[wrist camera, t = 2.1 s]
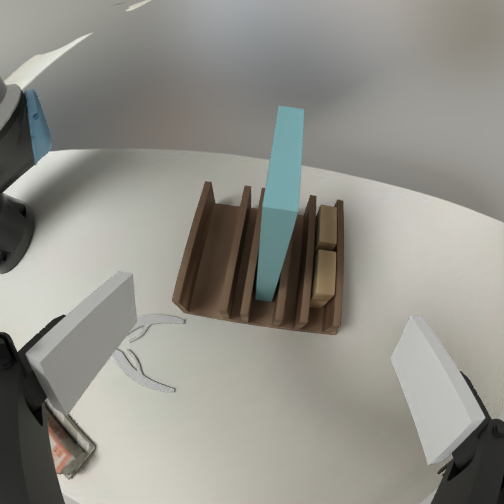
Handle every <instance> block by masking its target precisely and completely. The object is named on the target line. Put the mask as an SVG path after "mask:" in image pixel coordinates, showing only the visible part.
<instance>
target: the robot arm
mask: <svg viewBox="0 0 504 504" xmlns="http://www.w3.org/2000/svg"><path fill="white" fill-rule="evenodd" d="M51 147H52V138H51V134H50V131H49V128H48V124H47V121H46V118H45V115H44V113H43V110H42V107H41V104H40V102H39V99H38V96H37V94H36V92H35V91H34V89H29V90H26V91H25V93H23V92H22V90H21V89H20V87H19V86H18V85H16V84H11V85H5V83H4V82H3V80H2V79H1V77H0V273H6V272H8V271H10V270H11V269H12V268H13V267H14V266H15V265H16V264H17V263H18V262H19V261H20V259H21V258H22V256H23V255H24V253H25V251H26V249H27V247H28V245H29V243H30V240H31V237H32V233H33V229H34V214H33V212H32V210H31V209H30V208H29V207H28V206H27V205H26V204H25V203H24V202H23V201H20V200H18V199H15V198H13V197H11V196H8V195H6V194H4V193H3V192H4V191H5V190H6V189H7V188H8V187H9V186H10V185H11V184H12V183H14V182H15V181H16V180H17V179H18V178H19V177H21V176H22V175H23V174H24V173H25V172H26V171H28V170H29V169H30V168H31V167H33V166H34V165H36V164H37V162H38V161H39V160H40V159H41V158H42V157H44V156H45V155H46V154H47V153H48V152H49V151H50V149H51ZM136 323H137V315H136V306H135V295H134V284H133V274H131V273H126V272H121V271H119V272H118V273H116V274H115V275H114V276H113V277H111V278H110V279H109V280H108V281H106V282H105V283H104V284H103V285H102V286H100V287H99V288H98V289H97V290H96V291H94V292H93V293H92V294H91V295H90V296H88V297H87V298H86V299H85V300H84V301H82V302H81V303H80V304H79V305H78V306H77V307H76V308H74V309H73V310H72V311H71V312H70V313H69V314H68V315H62V316H60V317H57V318H55V319H53V320H52V321H51V322H50V323H49V324H48V325H46V327H45V328H43V329H42V330H41V331H40V332H39V333H37V334H36V335H35V336H34V337H33V338H32V339H31V340H30V341H29V342H28V343H27V344H26V345H24V346H23V347H22V348H21V349H20V350H19V351H18V352H17V350H16V348H15V346H14V343H13V341H12V338H11V337H10V335H9V334H7V333H5V332H0V504H65V502H64V499H63V496H62V492H61V489H60V485H59V482H58V478H57V474H56V469H55V465H54V460H53V455H52V450H51V444H50V438H49V432H48V424H47V415H46V407H45V404H44V403H43V402H44V401H45V400H46V398H48V400H49V402H50V403H51V405H52V407H53V408H55V409H57V410H58V411H60V412H62V413H63V414H65V415H68V414H69V413H70V411H71V410H72V408H73V407H74V406H75V404H76V403H77V401H78V400H79V399H80V397H81V396H82V394H83V393H84V392H85V390H86V389H87V387H88V386H89V385H90V383H91V382H92V381H93V379H94V378H95V377H96V375H97V374H98V373H99V371H100V370H101V369H102V367H103V366H104V365H105V363H106V362H107V361H108V359H109V358H110V357H111V355H112V354H113V353H114V351H115V350H116V349H117V348H118V346H119V345H120V344H121V342H122V341H123V340H124V339H125V337H126V336H127V335H128V333H129V332H130V331H131V330H132V328H133V327H134V326H135V325H136ZM390 360H391V362H392V365H393V367H394V370H395V372H396V375H397V377H398V380H399V382H400V385H401V387H402V390H403V392H404V395H405V398H406V400H407V403H408V406H409V409H410V411H411V414H412V417H413V420H414V423H415V426H416V429H417V432H418V435H419V438H420V441H421V444H422V447H423V450H424V454H425V457H426V461H427V464H428V465H431V464H435V463H438V462H442V461H443V460H444V459H446V458H447V457H448V456H449V455H450V454H451V453H452V455H453V459H452V460H451V461H449V462H448V463H447V464H446V465H445V466H444V467H442V468H441V469H440V470H439V471H438V473H437V474H440V473H441V472H443V471H444V470H445V469H446V471H445V473H444V474H443V475H442V476H443V478H442V481H441V483H440V485H439V487H438V490H437V492H436V494H435V496H434V498H433V500H432V502H431V504H504V422H503V421H502V420H499V419H491V417H490V416H489V414H488V412H487V410H486V408H485V406H484V404H483V402H482V401H481V399H480V397H479V395H478V396H477V392H476V390H475V389H473V385H472V383H471V382H470V380H469V378H468V377H467V376H465V375H464V374H463V373H462V372H461V371H459V370H458V368H457V366H456V365H455V363H454V361H453V360H452V358H451V357H450V355H449V354H448V352H447V351H446V349H445V347H444V346H443V344H442V343H441V341H440V340H439V338H438V337H437V336H436V334H435V333H434V331H433V330H432V328H431V327H430V325H429V324H428V323H427V321H426V320H425V318H424V317H423V316H418V315H410V317H409V320H408V322H407V324H406V327H405V329H404V331H403V333H402V335H401V338H400V340H399V342H398V344H397V346H396V348H395V350H394V352H393V354H392V356H391V358H390Z"/></svg>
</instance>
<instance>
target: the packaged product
mask: <svg viewBox="0 0 504 504" xmlns="http://www.w3.org/2000/svg"><path fill="white" fill-rule="evenodd" d="M43 403H44V404H45V407H46V415H47V424H48V432H49V438H50V444H51V450H52V455H53V460H54V465H55V469H56V473H57V474H64V475H65V476H66V478H67V479H70V478H71V477H72V476H73V475H74V474H75V473H76V472H77V470H78V469H79V468H80V467H81V465H82V464H83V462H84V461H85V460H86V459H87V458H88V457H89V455H90V454H91V453H92V452H93V451H94V449H95V445H94V444H93V443H92V442H91V441H90V440H89V439H88V438H87V437H86V436H85V435H84V434H83V433H82V432H81V430H80V429H79V428H78V427H77V426H76V424H75V423H74V422H73V420H72V419H71V418H70V417H69V415H65V414H63V413H62V412H60V411H58V410H57V409H55V408H53V407H52V405H51V403H50V402H49V400H48V398H46V400H45V401H44V402H43Z"/></svg>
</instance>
